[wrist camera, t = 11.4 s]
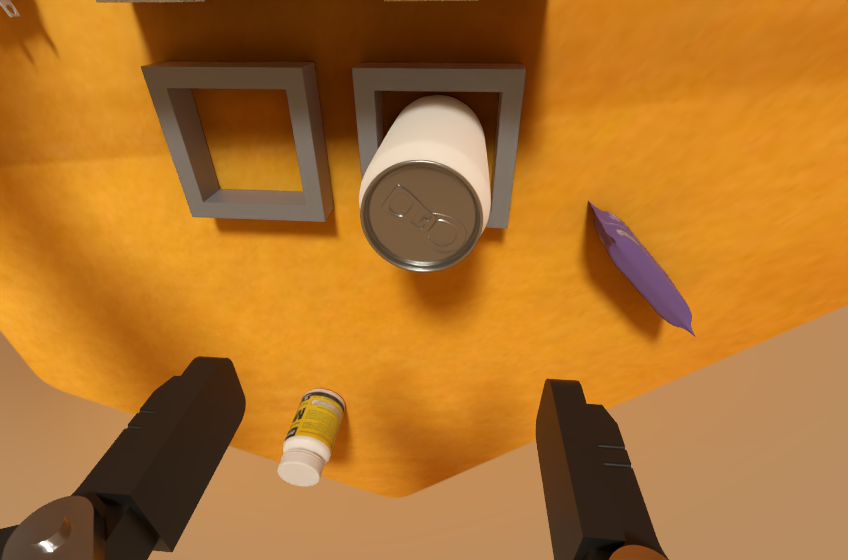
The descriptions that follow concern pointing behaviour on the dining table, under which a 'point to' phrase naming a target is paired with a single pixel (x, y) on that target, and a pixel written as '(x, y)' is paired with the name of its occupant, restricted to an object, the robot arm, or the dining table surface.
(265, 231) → the dining table surface
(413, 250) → the can
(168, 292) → the dining table surface
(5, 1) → the usb wall charger
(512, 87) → the dock
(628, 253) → the snack package
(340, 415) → the supplement bottle
